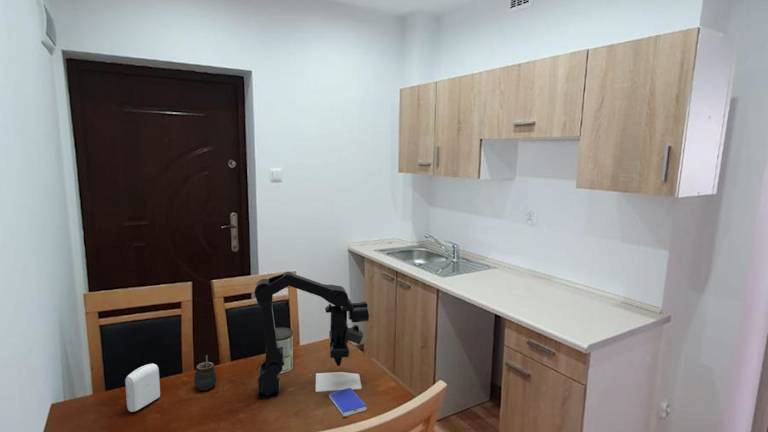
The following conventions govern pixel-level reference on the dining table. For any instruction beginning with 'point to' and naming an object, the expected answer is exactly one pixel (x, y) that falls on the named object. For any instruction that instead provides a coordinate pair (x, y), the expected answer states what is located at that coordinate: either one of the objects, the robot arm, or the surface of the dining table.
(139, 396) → the photo printer
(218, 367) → the dining table surface
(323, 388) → the rubber mat
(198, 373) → the mate gourd
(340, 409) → the hard drive
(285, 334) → the coffee can
